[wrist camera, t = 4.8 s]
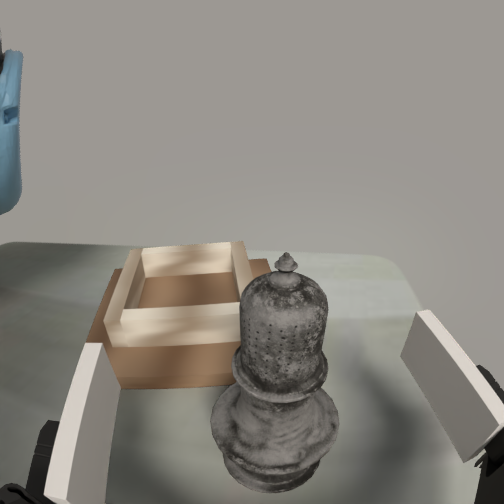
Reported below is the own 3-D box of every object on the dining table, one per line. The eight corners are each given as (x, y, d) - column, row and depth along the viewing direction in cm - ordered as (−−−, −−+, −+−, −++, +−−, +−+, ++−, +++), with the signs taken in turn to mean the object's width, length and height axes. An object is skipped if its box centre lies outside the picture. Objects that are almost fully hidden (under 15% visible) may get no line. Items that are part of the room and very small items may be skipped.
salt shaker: (280, 518, 11) (320, 357, 6) (194, 453, 15) (144, 257, 9) (346, 441, 15) (411, 248, 10) (265, 394, 19) (270, 205, 13)
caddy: (80, 387, 18) (61, 349, 16) (117, 279, 30) (110, 247, 29) (303, 375, 20) (309, 336, 18) (266, 269, 32) (266, 235, 30)
